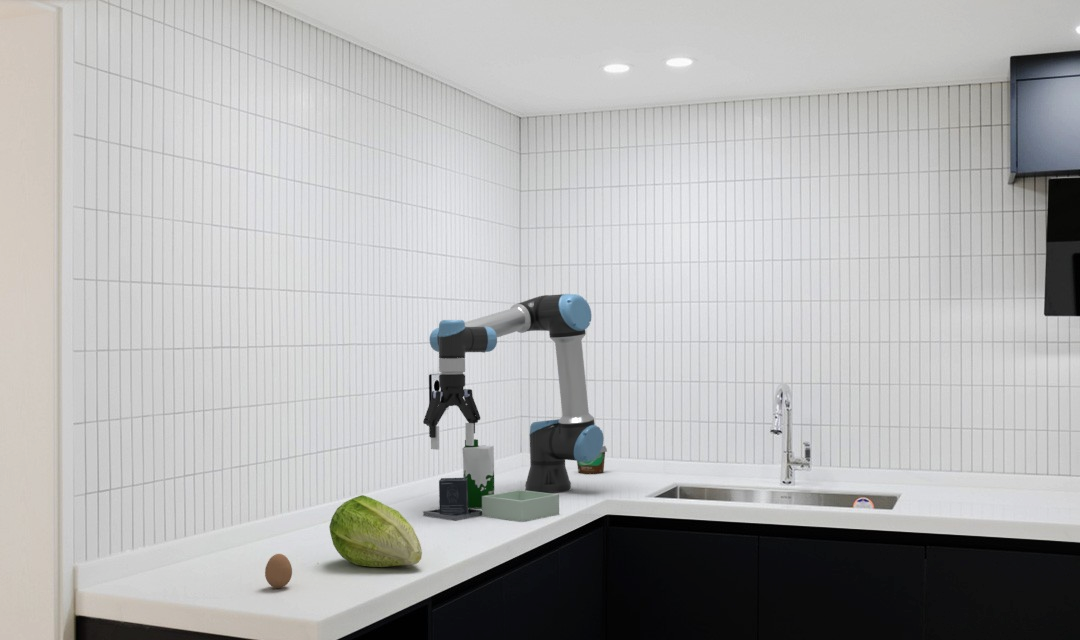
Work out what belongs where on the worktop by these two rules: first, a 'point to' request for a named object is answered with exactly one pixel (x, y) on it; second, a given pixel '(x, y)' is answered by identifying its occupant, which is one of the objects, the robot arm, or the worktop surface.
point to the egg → (278, 571)
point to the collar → (437, 514)
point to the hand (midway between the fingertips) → (452, 447)
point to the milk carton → (478, 472)
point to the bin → (520, 505)
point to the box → (453, 496)
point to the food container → (593, 464)
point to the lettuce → (373, 534)
